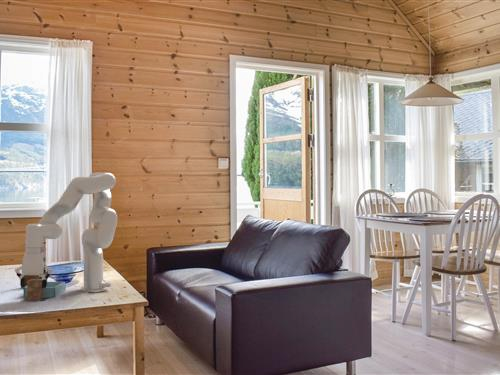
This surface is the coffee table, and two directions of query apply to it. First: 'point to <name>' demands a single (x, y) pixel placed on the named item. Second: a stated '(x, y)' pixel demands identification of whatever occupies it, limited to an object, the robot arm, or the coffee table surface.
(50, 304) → the coffee table surface
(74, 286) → the coffee table surface
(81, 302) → the coffee table surface
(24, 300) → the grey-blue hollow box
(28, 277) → the mug
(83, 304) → the coffee table surface
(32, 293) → the brown cylinder
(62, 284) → the bin
